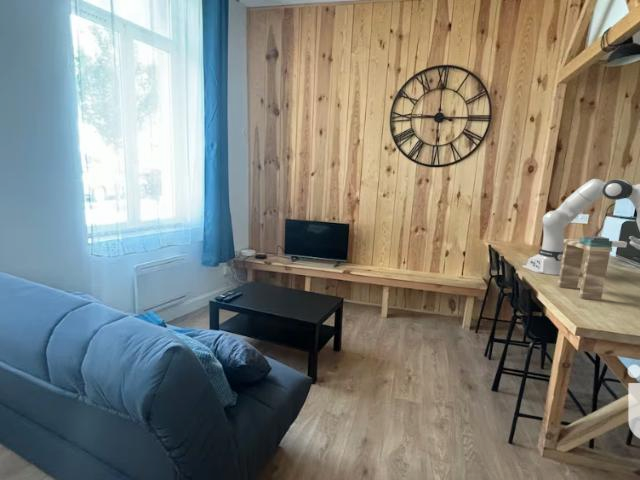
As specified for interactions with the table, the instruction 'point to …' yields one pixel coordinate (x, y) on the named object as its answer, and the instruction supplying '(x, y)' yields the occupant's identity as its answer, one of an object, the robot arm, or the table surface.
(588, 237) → the beige and grey block
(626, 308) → the table surface
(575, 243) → the brown and teal frame
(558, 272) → the robot arm
